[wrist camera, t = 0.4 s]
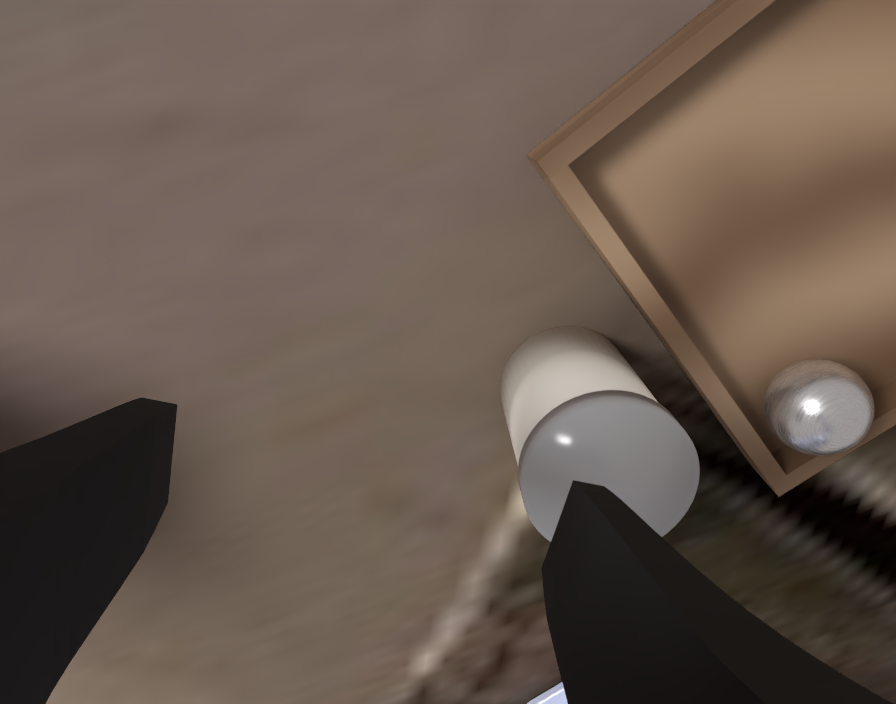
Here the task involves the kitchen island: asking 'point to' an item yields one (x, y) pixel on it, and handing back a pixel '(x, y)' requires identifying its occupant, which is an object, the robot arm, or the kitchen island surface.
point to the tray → (751, 203)
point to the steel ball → (819, 407)
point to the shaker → (592, 430)
